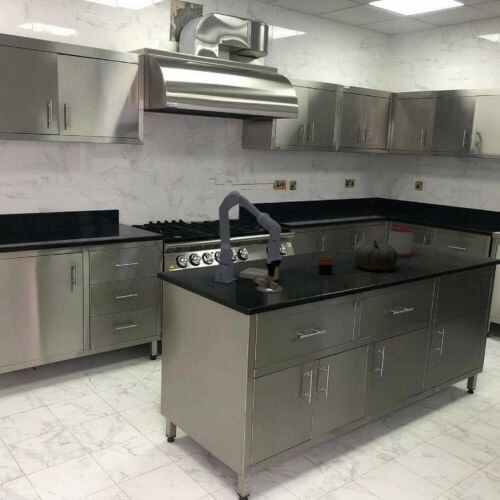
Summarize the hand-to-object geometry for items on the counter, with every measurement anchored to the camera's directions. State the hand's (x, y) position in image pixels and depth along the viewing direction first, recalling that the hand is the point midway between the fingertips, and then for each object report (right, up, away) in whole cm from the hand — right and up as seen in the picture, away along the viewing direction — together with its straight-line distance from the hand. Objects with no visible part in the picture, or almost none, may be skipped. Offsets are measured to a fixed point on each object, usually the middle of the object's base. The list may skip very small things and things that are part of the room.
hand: (272, 275), depth 268 cm
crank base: (-2, -6, -11) cm, 13 cm away
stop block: (0, -2, 0) cm, 2 cm away
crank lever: (-4, -4, -9) cm, 11 cm away
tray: (-8, -1, +12) cm, 15 cm away
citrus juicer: (+86, +9, +82) cm, 119 cm away
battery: (+29, -1, +23) cm, 37 cm away
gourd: (+60, +2, +41) cm, 73 cm away
